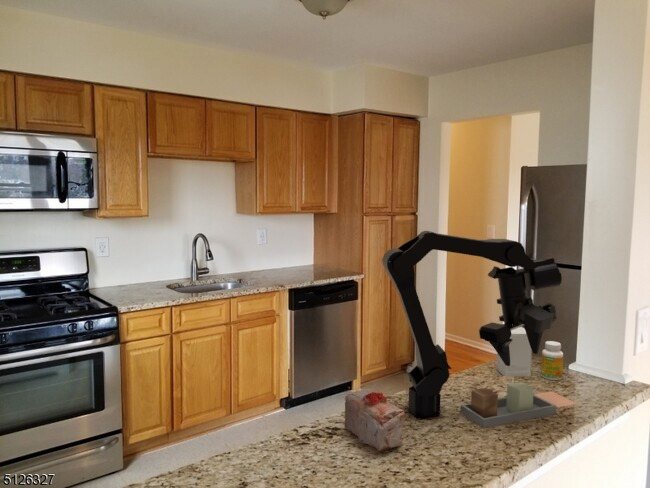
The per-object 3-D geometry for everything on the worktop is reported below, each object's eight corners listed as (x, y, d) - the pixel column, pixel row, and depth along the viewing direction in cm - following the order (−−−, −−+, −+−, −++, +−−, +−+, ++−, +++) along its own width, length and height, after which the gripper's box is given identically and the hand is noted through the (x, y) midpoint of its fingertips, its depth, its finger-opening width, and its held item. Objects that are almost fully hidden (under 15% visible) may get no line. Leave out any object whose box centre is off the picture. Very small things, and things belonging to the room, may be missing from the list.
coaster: (551, 411, 118) (551, 408, 118) (526, 398, 125) (526, 395, 125) (577, 405, 121) (577, 403, 121) (551, 393, 128) (551, 391, 128)
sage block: (518, 416, 114) (519, 390, 113) (506, 409, 118) (507, 384, 117) (532, 413, 115) (533, 388, 115) (520, 406, 119) (521, 381, 118)
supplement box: (531, 378, 139) (533, 333, 138) (504, 378, 139) (506, 333, 138) (521, 369, 146) (523, 326, 145) (495, 369, 146) (497, 326, 145)
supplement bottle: (542, 379, 138) (543, 345, 137) (539, 372, 143) (541, 339, 142) (563, 381, 136) (565, 346, 135) (560, 374, 142) (562, 341, 141)
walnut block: (482, 423, 110) (483, 396, 110) (470, 415, 114) (471, 390, 114) (497, 420, 112) (497, 394, 111) (485, 413, 116) (486, 387, 115)
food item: (410, 447, 101) (410, 400, 100) (379, 459, 97) (380, 410, 96) (367, 422, 113) (367, 379, 112) (338, 431, 108) (338, 387, 107)
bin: (483, 431, 108) (483, 419, 108) (460, 415, 116) (460, 404, 115) (555, 416, 115) (556, 405, 115) (529, 402, 123) (530, 392, 123)
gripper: (512, 309, 103) (522, 381, 105) (571, 287, 112) (579, 354, 113) (473, 302, 113) (482, 368, 115) (529, 283, 121) (537, 345, 123)
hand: (521, 359), depth 116 cm, fingers open, 9 cm apart
